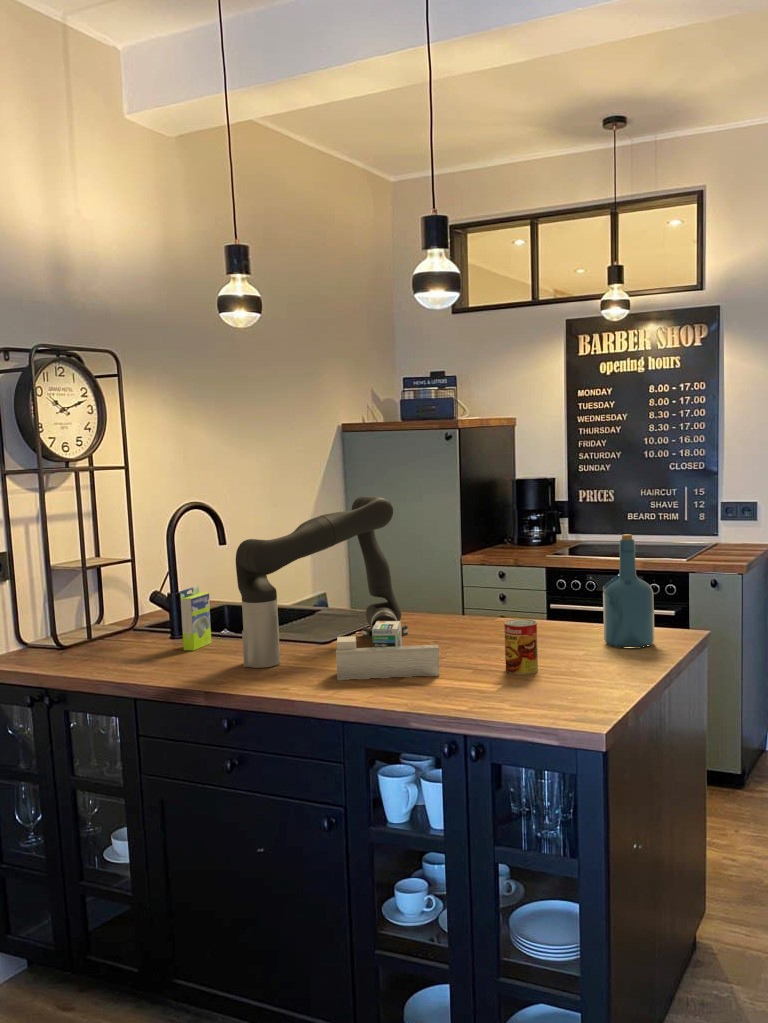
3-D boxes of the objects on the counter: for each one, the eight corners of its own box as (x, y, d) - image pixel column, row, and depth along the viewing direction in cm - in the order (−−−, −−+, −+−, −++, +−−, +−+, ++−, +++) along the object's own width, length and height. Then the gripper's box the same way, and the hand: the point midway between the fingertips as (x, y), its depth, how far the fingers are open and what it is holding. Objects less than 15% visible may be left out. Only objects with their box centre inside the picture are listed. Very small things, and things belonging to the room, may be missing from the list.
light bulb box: (399, 670, 228) (398, 628, 227) (373, 671, 228) (371, 629, 228) (403, 660, 238) (401, 620, 237) (377, 660, 239) (376, 620, 238)
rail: (337, 681, 220) (335, 652, 219) (338, 672, 229) (337, 643, 228) (439, 677, 220) (438, 647, 219) (437, 667, 229) (436, 639, 229)
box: (194, 651, 260) (190, 591, 258) (181, 650, 261) (178, 591, 260) (212, 643, 270) (209, 585, 268) (200, 642, 271) (197, 585, 270)
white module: (338, 678, 223) (336, 642, 222) (339, 671, 229) (337, 636, 229) (357, 677, 223) (355, 641, 222) (357, 670, 229) (355, 635, 229)
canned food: (500, 668, 226) (498, 621, 225) (527, 664, 229) (526, 618, 228) (515, 676, 218) (514, 626, 218) (544, 671, 221) (542, 623, 220)
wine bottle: (663, 642, 247) (661, 533, 245) (639, 652, 237) (637, 538, 235) (618, 636, 256) (615, 531, 254) (593, 645, 247) (591, 536, 245)
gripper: (360, 612, 255) (360, 625, 238) (407, 610, 255) (410, 622, 238) (361, 639, 256) (361, 653, 238) (408, 637, 256) (411, 651, 239)
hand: (385, 638), depth 238 cm, fingers closed
